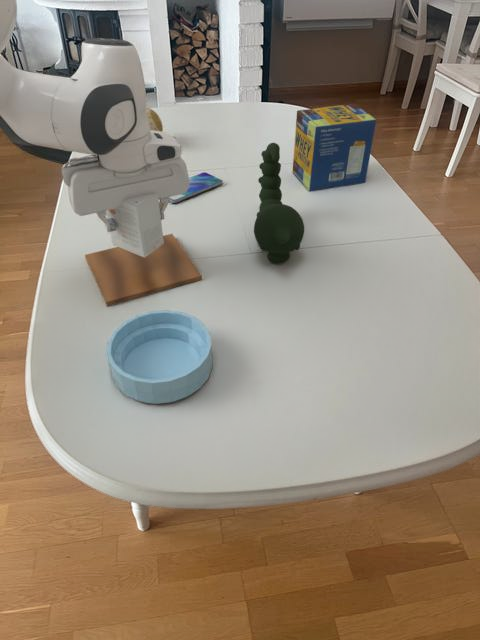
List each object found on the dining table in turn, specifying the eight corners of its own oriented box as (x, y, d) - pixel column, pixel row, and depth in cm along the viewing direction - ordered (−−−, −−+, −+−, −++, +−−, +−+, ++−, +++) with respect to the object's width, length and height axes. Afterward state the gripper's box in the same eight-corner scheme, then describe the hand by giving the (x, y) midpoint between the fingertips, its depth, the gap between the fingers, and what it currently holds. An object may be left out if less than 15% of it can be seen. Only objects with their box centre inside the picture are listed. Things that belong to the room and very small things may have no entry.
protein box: (291, 173, 130) (295, 110, 119) (347, 164, 133) (355, 102, 123) (308, 192, 122) (314, 126, 112) (366, 182, 126) (378, 118, 116)
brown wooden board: (106, 306, 91) (105, 302, 90) (85, 259, 102) (84, 254, 101) (202, 279, 97) (201, 275, 96) (172, 237, 107) (172, 233, 107)
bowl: (129, 420, 72) (123, 396, 69) (101, 350, 83) (95, 327, 79) (228, 384, 77) (227, 361, 74) (190, 323, 88) (188, 300, 84)
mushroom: (99, 133, 140) (140, 94, 139) (127, 162, 147) (166, 125, 145) (103, 142, 132) (146, 101, 130) (132, 172, 138) (174, 133, 136)
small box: (164, 244, 96) (159, 192, 89) (144, 258, 92) (137, 205, 85) (132, 231, 99) (124, 180, 92) (111, 245, 95) (101, 192, 88)
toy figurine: (247, 222, 115) (257, 282, 95) (247, 135, 104) (259, 182, 84) (289, 220, 116) (308, 280, 96) (293, 134, 104) (316, 180, 84)
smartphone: (154, 190, 121) (204, 171, 128) (155, 194, 121) (205, 174, 129) (173, 201, 117) (223, 180, 124) (173, 204, 117) (223, 184, 125)
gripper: (62, 169, 78) (81, 247, 87) (190, 145, 84) (194, 220, 94) (54, 153, 82) (73, 229, 91) (176, 131, 89) (182, 204, 98)
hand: (135, 224), depth 93 cm, fingers closed on small box, 7 cm apart
